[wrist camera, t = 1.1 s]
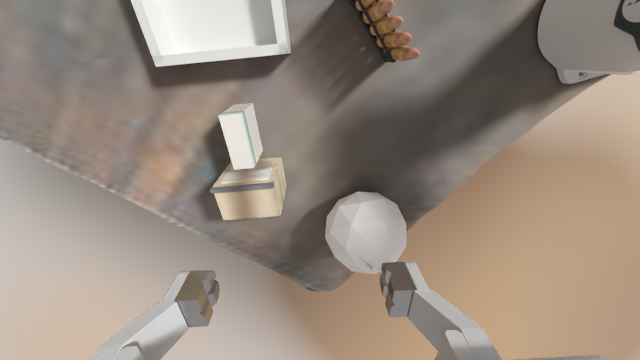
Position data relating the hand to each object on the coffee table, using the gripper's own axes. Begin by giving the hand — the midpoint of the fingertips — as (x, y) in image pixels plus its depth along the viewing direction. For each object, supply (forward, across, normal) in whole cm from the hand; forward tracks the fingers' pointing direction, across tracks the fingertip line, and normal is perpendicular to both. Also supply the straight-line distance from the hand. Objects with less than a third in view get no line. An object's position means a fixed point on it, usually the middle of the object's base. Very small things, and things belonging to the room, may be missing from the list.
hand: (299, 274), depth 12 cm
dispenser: (+31, +9, +10) cm, 34 cm away
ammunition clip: (+31, -10, -13) cm, 35 cm away
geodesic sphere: (+31, -10, +18) cm, 38 cm away
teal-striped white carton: (+31, +10, +2) cm, 33 cm away
